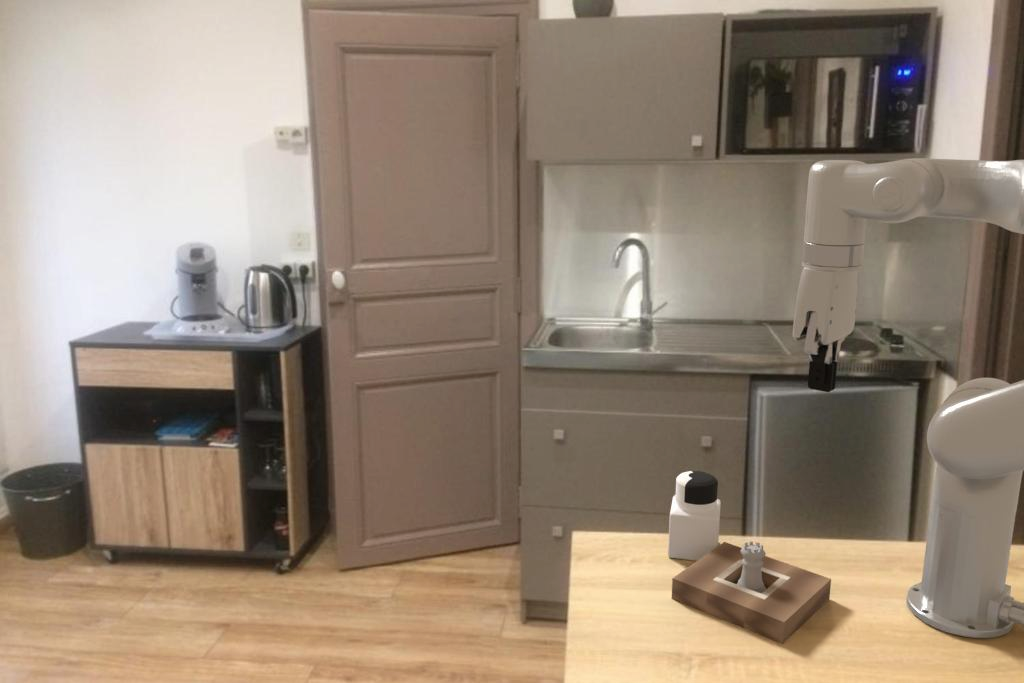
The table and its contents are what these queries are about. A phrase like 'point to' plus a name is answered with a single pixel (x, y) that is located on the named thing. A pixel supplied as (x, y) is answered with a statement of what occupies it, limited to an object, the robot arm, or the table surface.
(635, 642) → the table surface
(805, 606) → the board
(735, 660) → the table surface
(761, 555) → the rook chess piece
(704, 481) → the medicine bottle
